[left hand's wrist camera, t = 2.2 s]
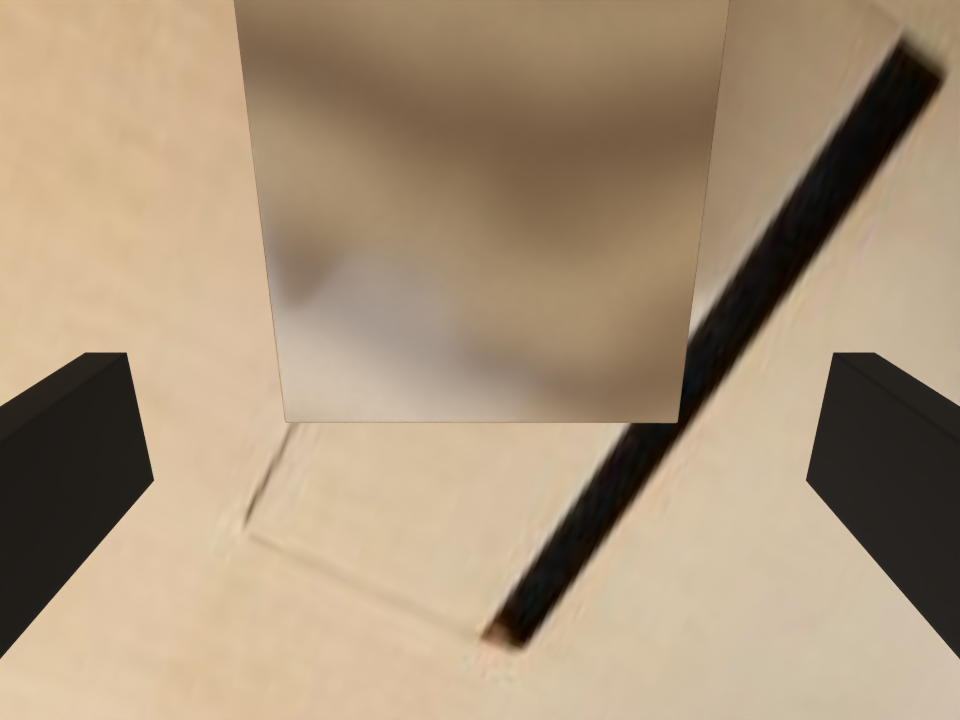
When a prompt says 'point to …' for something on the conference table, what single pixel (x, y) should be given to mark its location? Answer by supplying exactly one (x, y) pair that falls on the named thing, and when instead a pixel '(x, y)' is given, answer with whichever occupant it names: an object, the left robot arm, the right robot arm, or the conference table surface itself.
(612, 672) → the conference table surface
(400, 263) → the cabinet
